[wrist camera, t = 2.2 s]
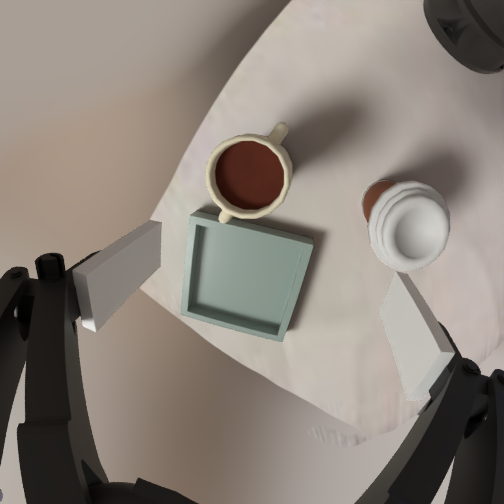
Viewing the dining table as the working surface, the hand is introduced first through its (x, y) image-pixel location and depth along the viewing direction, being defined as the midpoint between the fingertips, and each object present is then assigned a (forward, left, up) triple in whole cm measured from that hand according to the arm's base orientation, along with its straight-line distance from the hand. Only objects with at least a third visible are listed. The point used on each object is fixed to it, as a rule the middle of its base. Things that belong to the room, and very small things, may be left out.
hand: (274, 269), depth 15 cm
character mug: (-3, -4, -22) cm, 23 cm away
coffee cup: (-2, +12, -22) cm, 25 cm away
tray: (+13, -4, -22) cm, 26 cm away
